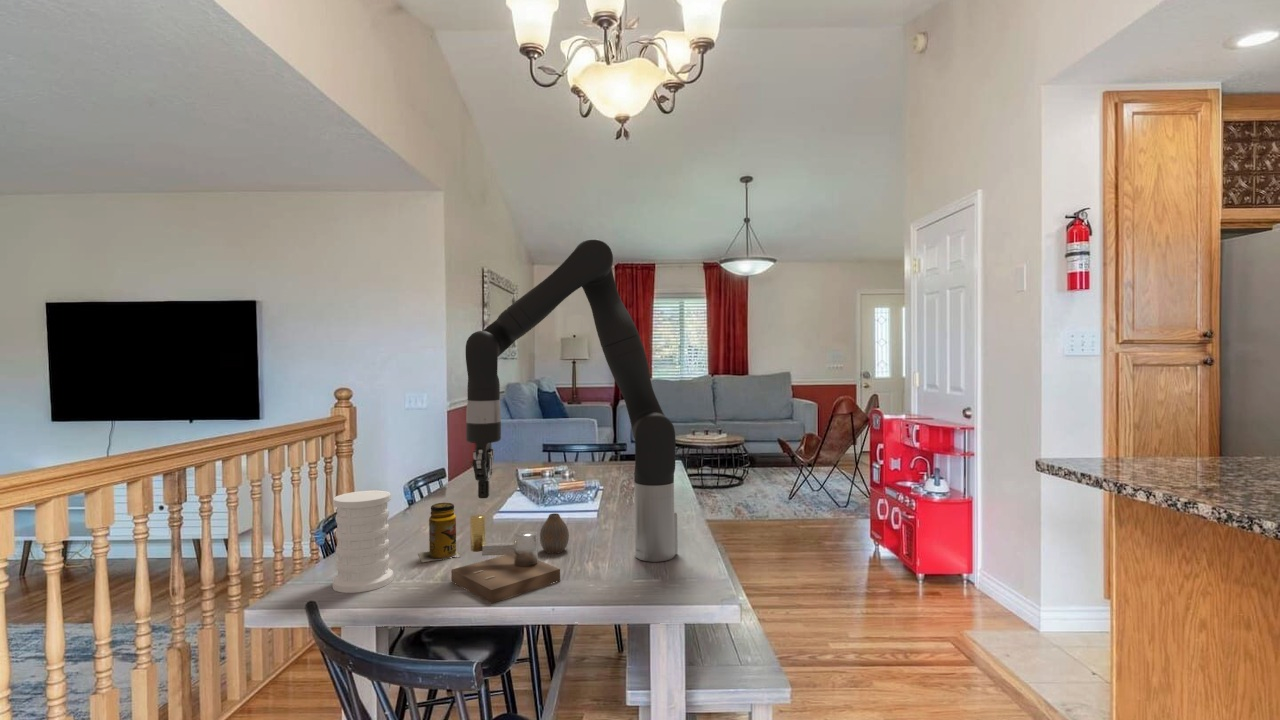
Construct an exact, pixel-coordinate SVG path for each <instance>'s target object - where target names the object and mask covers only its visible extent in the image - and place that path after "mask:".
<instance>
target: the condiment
mask: <svg viewBox="0 0 1280 720" xmlns="http://www.w3.org/2000/svg"><path fill="white" fill-rule="evenodd" d="M428 522H429V524H428V526H429V528H428V529H429V531H428V532H429V533H428V534H429V535H428V536H429V537H428V539H429V550H428V551H421V552H418V556H419V558H420V561H421V563H426V562H434V561H443V560H444V559H445V560H447V559H446V558H450V557H451V559H453V558H452V557H453V556H455V557H456V556H457V558H461V556H460V553H458V551H457V516H456V514H455V505H454V503H452V502H438V503H434V504H432V505H430V516H429V519H428ZM442 559H443V560H442Z"/></svg>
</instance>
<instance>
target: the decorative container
mask: <svg viewBox="0 0 1280 720" xmlns="http://www.w3.org/2000/svg"><path fill="white" fill-rule="evenodd" d="M391 500H392V495H391V492H390V491H387V490H376V489H375V490H373V489H371V490H370V489H369V490H359V491H352V492H346V493H343V494H338V495H336V496H335V497H333V507H335V508H336V515H335V522H336V525H337V529H336V531H335V537H336V539H337V545H336V547H335V552H336V555H337V560H336V564H335V567H336V570H337V575H336V576H335V577H333V579H332V589H333V590H334V591H335V592H338V593H343V594H353V593H354V594H355V593H364V592H369V591H373V590H377V589H380V588H384V587H385V586H387V585H389V584H390V583H392V582H393V580H394V577H395V576H394V570H392V569H391V568H389V563H390V559H391V558H390V555H389V554H390V553H389V547H390V540H389V538H388V537H389V535H388V533H389V531H390V525H389V523H388V519H389V515H390V511H389V508H388V502H390V501H391Z"/></svg>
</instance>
